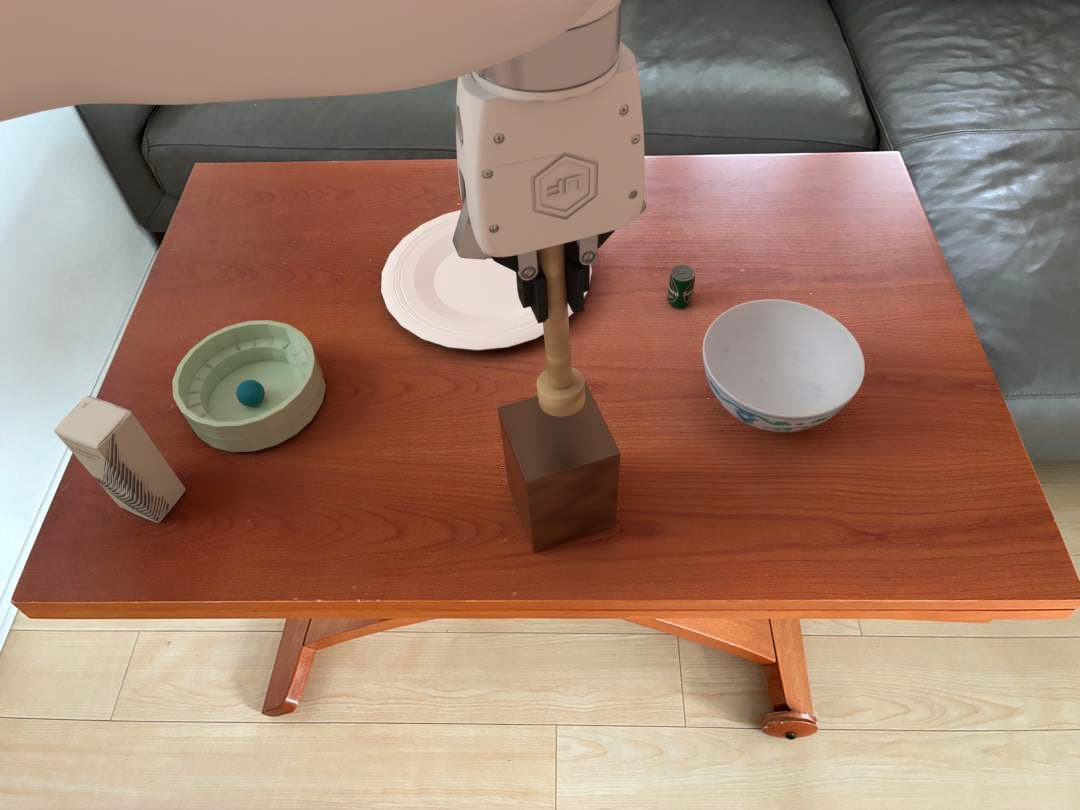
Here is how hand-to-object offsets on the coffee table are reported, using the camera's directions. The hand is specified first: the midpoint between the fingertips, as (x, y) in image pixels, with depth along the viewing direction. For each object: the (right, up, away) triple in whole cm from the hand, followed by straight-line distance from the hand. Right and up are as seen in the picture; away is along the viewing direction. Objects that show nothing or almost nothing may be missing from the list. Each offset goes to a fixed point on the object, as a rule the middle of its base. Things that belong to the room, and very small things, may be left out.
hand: (553, 302), depth 52 cm
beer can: (+15, +5, +37) cm, 40 cm away
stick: (+1, -7, +7) cm, 9 cm away
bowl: (-31, -7, +30) cm, 44 cm away
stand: (+1, -16, +21) cm, 26 cm away
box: (-39, -16, +23) cm, 48 cm away
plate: (-7, +8, +40) cm, 42 cm away
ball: (-31, -6, +28) cm, 42 cm away
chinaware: (+22, -7, +27) cm, 36 cm away
